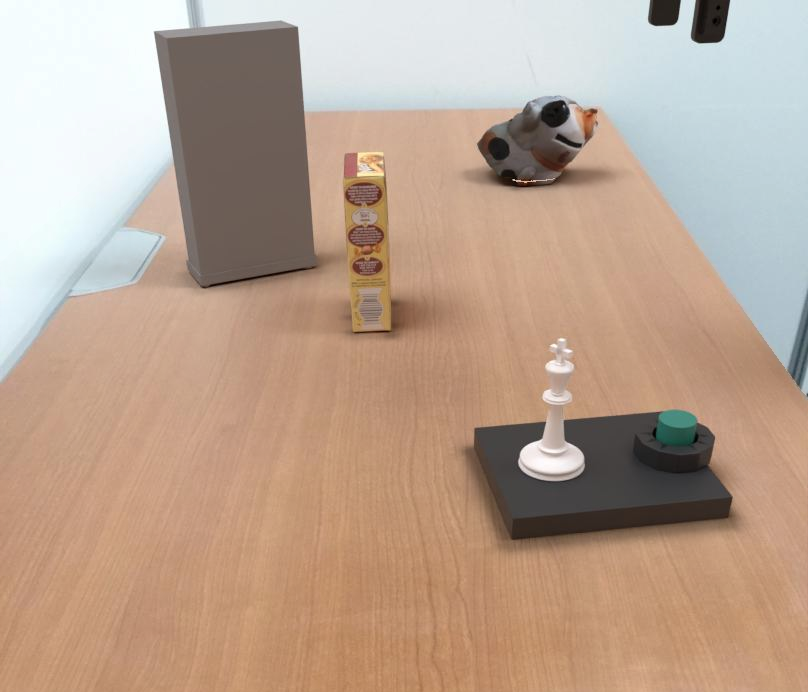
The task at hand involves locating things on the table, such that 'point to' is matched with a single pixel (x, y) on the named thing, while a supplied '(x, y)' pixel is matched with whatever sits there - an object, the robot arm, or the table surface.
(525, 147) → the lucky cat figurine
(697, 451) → the scale
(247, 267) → the gray rectangular block
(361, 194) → the candy box
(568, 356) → the chess piece
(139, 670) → the table surface
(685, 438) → the button
